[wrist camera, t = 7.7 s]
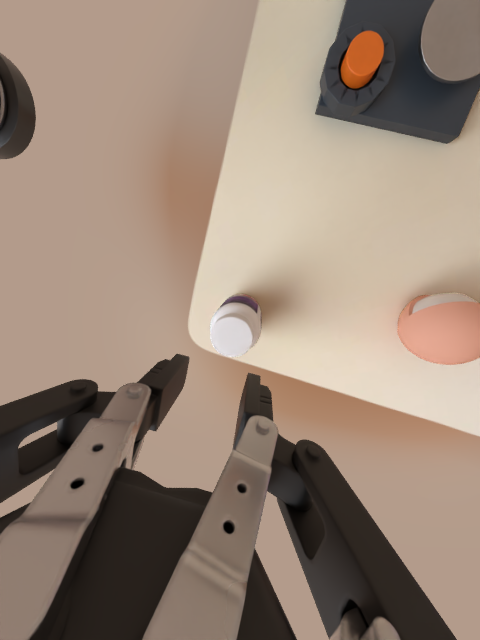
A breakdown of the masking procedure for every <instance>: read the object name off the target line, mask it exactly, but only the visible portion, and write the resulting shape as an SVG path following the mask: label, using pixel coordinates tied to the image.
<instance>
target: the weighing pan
mask: <svg viewBox="0 0 480 640" xmlns="http://www.w3.org/2000/svg"><path fill="white" fill-rule="evenodd" d="M418 52H419V58H420V61H421V64H422V66H423V68H424V70H425V71H426V73H427V74H428V75H429V76H430V77H432V78H433V79H434V80H436V81H438V82H441V83H446V84H456V83H461V82H464V81H467V80H469V79H472V78H473V77H475V76H477V75H478V74H480V0H434V2H433V3H432V5H431V6H430V8H429V10H428V12H427V13H426V15H425V18H424V20H423V23H422V26H421V29H420V34H419V41H418Z"/></svg>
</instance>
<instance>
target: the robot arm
mask: <svg viewBox="0 0 480 640" xmlns="http://www.w3.org/2000/svg"><path fill="white" fill-rule="evenodd" d="M7 113H8V97H7V92H6V88H5V85H4V82H3V79H2V77H1V75H0V131H1V129H2V128H3V126H4V124H5V121H6V118H7ZM188 364H189V357H188V356H184V355H180V354H176V355H175V356H174V357H173V358H172V359H171V360H166V359H165V360H163V361H160V362H158V363H157V364H156V365H155V366H154V367H153V368H152V369H151V370H150V371H149V372H148V373H147V374H146V375H144V377H143V378H141V379H140V380H139V381H138V382H137V383H129V384H126V385H123V386H122V387H120V388H119V389H118V391H117V392H98V385H97V384H96V383H95V382H94V381H91V380H86V379H82V380H81V379H80V380H74V381H70V382H67V383H64V384H61V385H58V386H55V387H53V388H50V389H47V390H44V391H41V392H38V393H36V394H33V395H30V396H27V397H25V398H22V399H19V400H16V401H13V402H10V403H8V404H5V405H2V406H0V503H1V502H3V501H4V500H6V499H7V498H9V497H11V496H12V495H14V494H16V493H17V492H19V491H20V490H22V489H23V488H25V487H27V486H28V485H30V484H31V483H33V482H34V481H36V480H37V479H39V478H41V477H42V476H44V475H45V474H47V473H49V472H50V471H52V470H53V469H55V470H54V471H53V472H52V474H51V475H50V477H49V478H48V479H47V481H46V482H45V484H44V485H43V487H42V488H41V489H40V491H39V492H38V494H37V495H36V497H35V498H34V499H33V501H32V502H31V503H29V504H27V505H25V506H23V507H21V508H19V509H17V510H15V511H13V512H11V513H9V514H7V515H5V516H3V517H1V518H0V640H297V639H296V637H295V634H294V632H293V630H292V628H291V626H290V624H289V621H288V619H287V617H286V615H285V613H284V611H283V609H282V606H281V604H280V602H279V600H278V598H277V595H276V593H275V592H274V589H273V587H272V585H271V582H270V580H269V578H268V576H267V574H266V572H265V569H264V567H263V565H262V563H261V561H260V558H259V556H258V554H257V552H256V550H255V544H256V539H257V534H258V530H259V525H260V521H261V516H262V512H263V507H264V502H265V498H266V493H267V491H268V492H270V493H271V494H273V495H274V496H276V497H277V502H278V504H279V507H280V510H281V513H282V515H283V518H284V521H285V523H286V526H287V529H288V531H289V534H290V537H291V539H292V542H293V545H294V547H295V550H296V553H297V555H298V558H299V561H300V563H301V566H302V568H303V571H304V574H305V576H306V579H307V582H308V584H309V587H310V590H311V592H312V595H313V598H314V600H315V603H316V606H317V608H318V611H319V613H320V616H321V619H322V622H323V624H324V627H325V629H326V632H327V635H328V637H329V640H457V639H456V638H455V636H454V635H453V633H452V632H451V630H450V629H449V628H448V626H447V625H446V624H445V622H444V620H443V619H442V618H441V616H440V615H439V613H438V612H437V611H436V609H435V608H434V606H433V605H432V603H431V602H430V600H429V599H428V598H427V596H426V595H425V593H424V592H423V590H422V589H421V588H420V586H419V585H418V583H417V582H416V580H415V579H414V577H413V576H412V575H411V573H410V572H409V570H408V569H407V567H406V566H405V565H404V563H403V562H402V560H401V559H400V557H399V556H398V554H397V553H396V552H395V550H394V549H393V547H392V546H391V544H390V543H389V542H388V540H387V539H386V537H385V536H384V534H383V533H382V532H381V530H380V529H379V527H378V526H377V525H376V523H375V522H374V520H373V519H372V517H371V516H370V514H369V513H368V511H367V510H366V509H365V507H364V506H363V504H362V503H361V501H360V500H359V499H358V497H357V496H356V494H355V493H354V491H353V490H352V489H351V487H350V486H349V484H348V483H347V481H346V480H345V478H344V477H343V476H342V474H341V473H340V471H339V470H338V468H337V467H336V466H335V464H334V463H333V461H332V460H331V458H330V457H329V456H328V454H327V453H326V451H325V450H324V449H323V448H322V447H321V446H319V445H318V444H316V443H314V442H312V441H309V440H300V441H298V442H297V444H296V445H295V444H293V443H291V442H289V441H288V440H286V439H284V438H283V437H281V436H280V435H279V434H278V428H277V426H276V425H275V423H274V422H273V411H272V400H271V399H272V398H271V392H270V390H269V388H268V387H267V386H264V385H260V376H259V375H255V374H251V373H248V375H247V379H246V382H245V386H244V389H243V393H242V397H241V401H240V406H239V412H238V418H237V425H236V432H235V438H234V444H233V450H232V453H231V455H230V457H229V459H228V461H227V463H226V465H225V468H224V470H223V472H222V474H221V476H220V478H219V480H218V482H217V485H216V487H215V489H214V491H213V493H212V492H208V491H205V490H202V489H198V488H166V487H163V486H161V485H160V484H158V483H157V482H155V481H154V480H152V479H150V478H149V477H147V476H146V475H144V474H142V473H141V472H138V471H134V468H135V465H136V462H137V459H138V456H139V453H140V450H141V448H142V445H143V442H144V437H145V434H146V433H147V431H148V430H153V431H156V430H157V429H158V427H159V426H160V424H161V422H162V421H163V419H164V418H165V416H166V415H167V413H168V411H169V410H170V408H171V406H172V405H173V403H174V402H175V400H176V399H177V397H178V395H179V394H180V392H181V391H182V389H183V386H184V383H185V379H186V374H187V368H188ZM55 422H57V430H55V431H53V432H51V433H49V434H47V435H45V436H43V437H41V438H39V439H37V440H35V441H33V442H31V443H29V444H27V445H25V446H23V447H21V448H19V449H18V446H19V444H20V443H21V441H22V440H23V439H24V438H25V437H27V436H28V435H30V434H32V433H34V432H36V431H38V430H40V429H42V428H45V427H47V426H49V425H51V424H53V423H55Z"/></svg>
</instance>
